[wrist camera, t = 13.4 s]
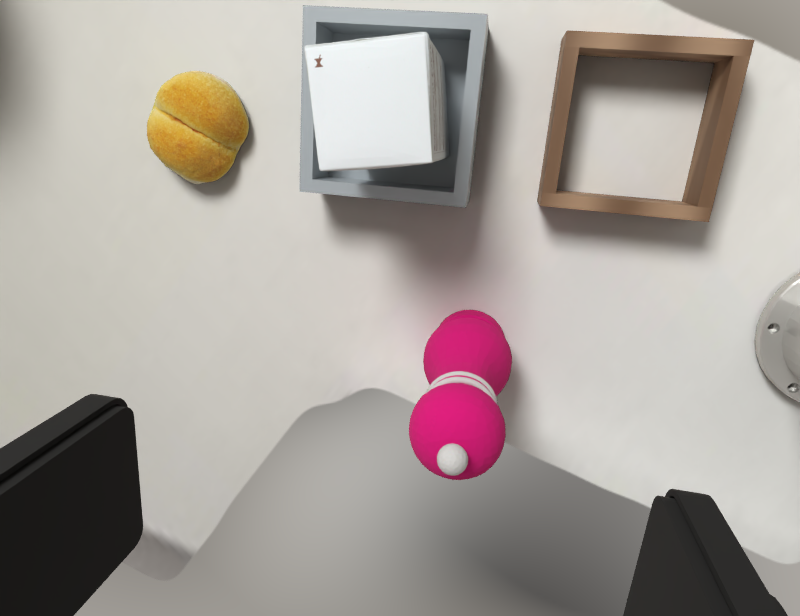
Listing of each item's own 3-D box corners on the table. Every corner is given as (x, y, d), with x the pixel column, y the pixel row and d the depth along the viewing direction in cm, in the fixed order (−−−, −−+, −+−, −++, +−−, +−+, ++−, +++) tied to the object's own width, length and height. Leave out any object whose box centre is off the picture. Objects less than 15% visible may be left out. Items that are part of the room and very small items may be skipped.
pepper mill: (423, 310, 49) (374, 416, 30) (503, 298, 47) (506, 402, 28) (438, 383, 51) (401, 527, 32) (516, 373, 49) (526, 519, 30)
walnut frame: (732, 48, 39) (754, 39, 36) (692, 215, 43) (708, 221, 39) (561, 39, 41) (566, 30, 37) (537, 201, 44) (540, 205, 41)
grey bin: (488, 28, 41) (487, 14, 37) (469, 200, 45) (465, 207, 41) (324, 20, 43) (303, 5, 38) (319, 186, 47) (299, 191, 42)
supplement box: (362, 164, 45) (314, 173, 33) (355, 68, 43) (299, 40, 31) (451, 159, 44) (433, 166, 32) (448, 59, 42) (427, 27, 30)
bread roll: (266, 105, 46) (245, 101, 42) (222, 195, 49) (199, 199, 45) (184, 51, 46) (156, 43, 42) (146, 144, 49) (116, 145, 45)
